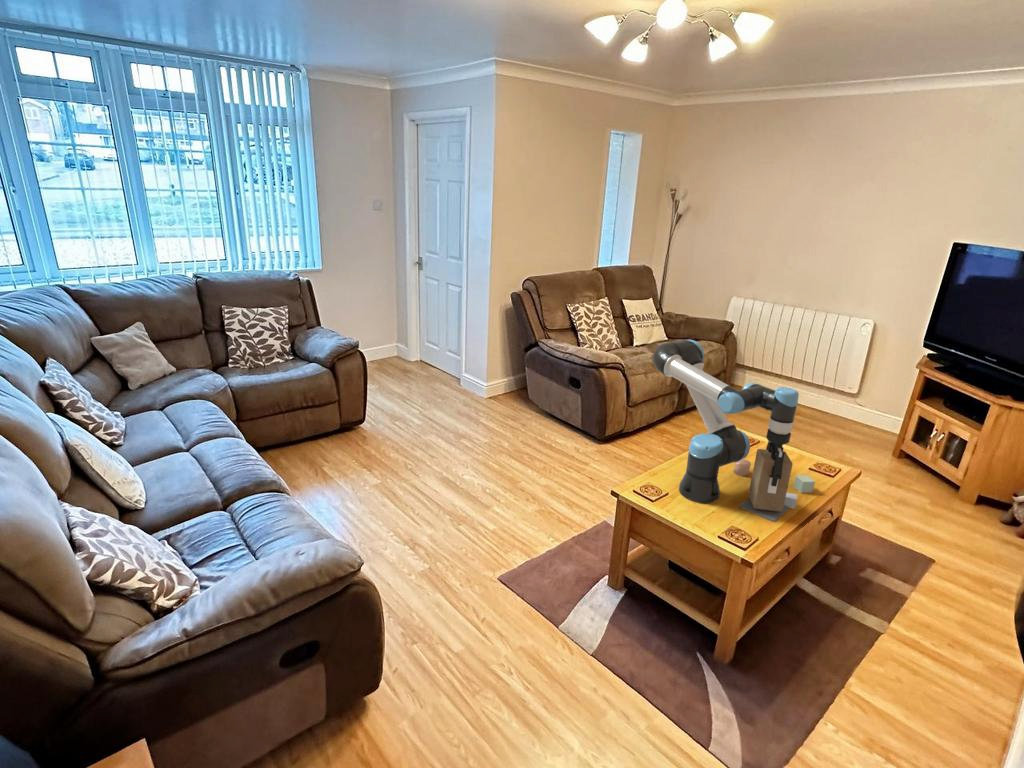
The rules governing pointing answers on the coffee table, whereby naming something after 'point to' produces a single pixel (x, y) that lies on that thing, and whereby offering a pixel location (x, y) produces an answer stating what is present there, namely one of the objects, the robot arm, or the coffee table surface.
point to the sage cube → (804, 484)
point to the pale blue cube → (790, 500)
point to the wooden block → (761, 482)
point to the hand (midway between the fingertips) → (768, 485)
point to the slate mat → (763, 511)
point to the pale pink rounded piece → (742, 467)
